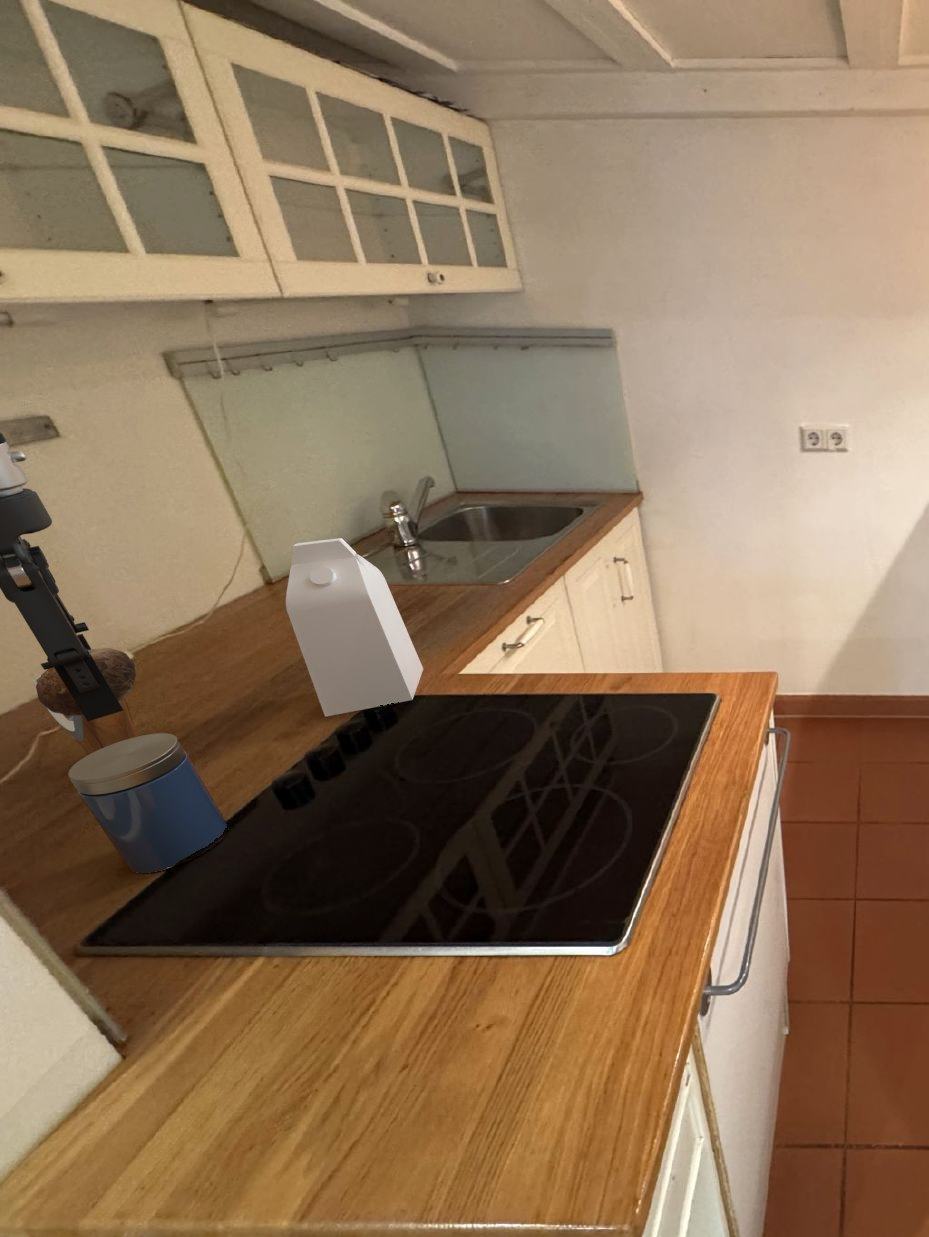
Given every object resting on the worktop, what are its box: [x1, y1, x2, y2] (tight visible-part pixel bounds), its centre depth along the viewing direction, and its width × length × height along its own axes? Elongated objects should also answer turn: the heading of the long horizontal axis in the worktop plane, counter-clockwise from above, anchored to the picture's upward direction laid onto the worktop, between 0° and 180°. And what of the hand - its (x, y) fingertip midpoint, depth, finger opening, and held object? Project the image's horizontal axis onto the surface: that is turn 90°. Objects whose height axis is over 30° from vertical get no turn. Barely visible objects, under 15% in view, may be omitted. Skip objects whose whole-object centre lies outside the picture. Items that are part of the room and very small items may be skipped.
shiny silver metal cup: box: [32, 673, 139, 756], centre depth 95 cm, size 7×7×15 cm
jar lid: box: [67, 732, 186, 795], centre depth 78 cm, size 9×9×2 cm
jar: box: [77, 750, 228, 874], centre depth 80 cm, size 9×9×13 cm
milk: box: [285, 537, 424, 718], centre depth 110 cm, size 12×12×26 cm
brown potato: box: [35, 647, 137, 716], centre depth 75 cm, size 8×8×6 cm
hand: (100, 702), depth 75 cm, fingers closed on brown potato, 7 cm apart
